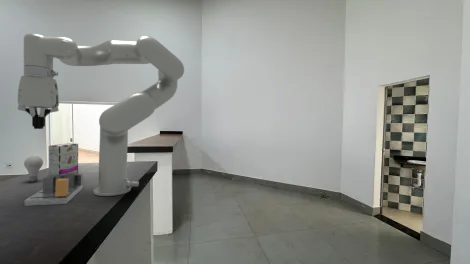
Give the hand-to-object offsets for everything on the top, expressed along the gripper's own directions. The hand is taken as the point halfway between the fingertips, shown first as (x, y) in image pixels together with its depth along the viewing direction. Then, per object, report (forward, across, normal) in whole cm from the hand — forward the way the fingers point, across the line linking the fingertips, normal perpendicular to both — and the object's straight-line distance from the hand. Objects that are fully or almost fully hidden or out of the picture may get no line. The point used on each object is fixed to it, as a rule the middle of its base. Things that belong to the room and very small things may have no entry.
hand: (38, 128), depth 79 cm
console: (+24, -5, 0) cm, 24 cm away
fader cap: (+21, -8, +7) cm, 24 cm away
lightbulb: (+24, +10, -25) cm, 36 cm away
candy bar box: (+24, -2, -20) cm, 31 cm away
